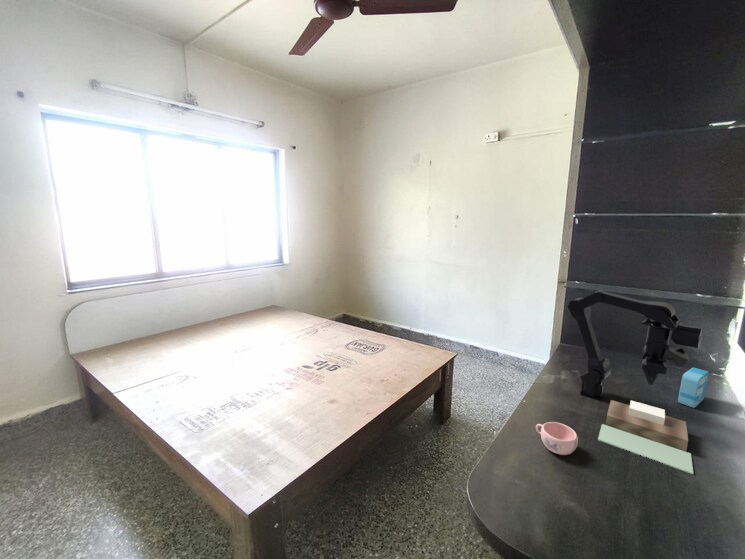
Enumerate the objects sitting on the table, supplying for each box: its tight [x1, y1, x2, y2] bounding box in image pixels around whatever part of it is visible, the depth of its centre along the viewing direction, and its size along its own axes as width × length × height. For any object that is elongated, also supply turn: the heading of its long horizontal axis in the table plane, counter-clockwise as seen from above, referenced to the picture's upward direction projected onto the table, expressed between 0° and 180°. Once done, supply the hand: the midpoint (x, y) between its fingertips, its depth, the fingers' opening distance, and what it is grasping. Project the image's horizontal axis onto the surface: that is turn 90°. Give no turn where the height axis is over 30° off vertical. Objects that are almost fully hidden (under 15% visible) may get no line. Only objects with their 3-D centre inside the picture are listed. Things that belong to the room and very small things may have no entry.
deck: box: [605, 399, 689, 452], centre depth 109 cm, size 20×12×4 cm, turn 49°
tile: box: [628, 400, 666, 425], centre depth 110 cm, size 9×6×2 cm, turn 49°
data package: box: [677, 367, 710, 409], centre depth 123 cm, size 12×4×12 cm, turn 122°
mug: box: [535, 421, 579, 456], centre depth 101 cm, size 12×10×6 cm
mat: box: [597, 423, 694, 475], centre depth 101 cm, size 22×10×1 cm, turn 49°
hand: (650, 381), depth 114 cm, fingers open, 5 cm apart
